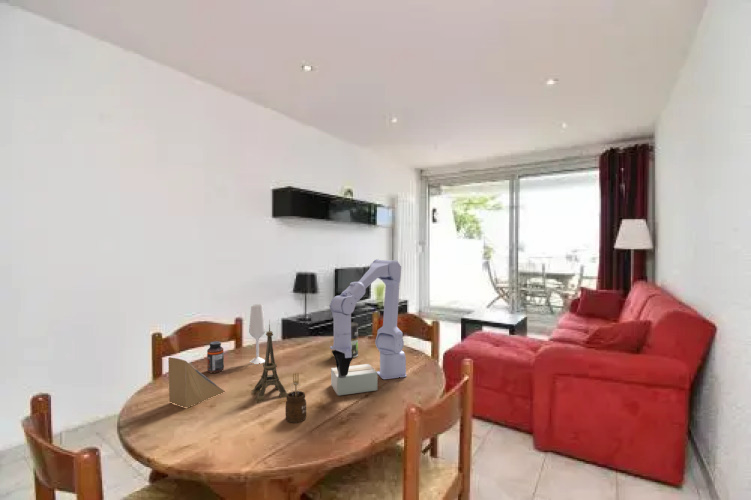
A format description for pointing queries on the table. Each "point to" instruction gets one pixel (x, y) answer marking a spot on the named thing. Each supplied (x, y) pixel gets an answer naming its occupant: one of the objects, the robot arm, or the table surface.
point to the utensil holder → (295, 404)
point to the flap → (356, 383)
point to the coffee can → (354, 339)
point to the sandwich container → (189, 384)
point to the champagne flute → (257, 328)
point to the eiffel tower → (266, 378)
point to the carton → (349, 373)
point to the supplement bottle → (215, 357)
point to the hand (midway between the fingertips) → (342, 373)
